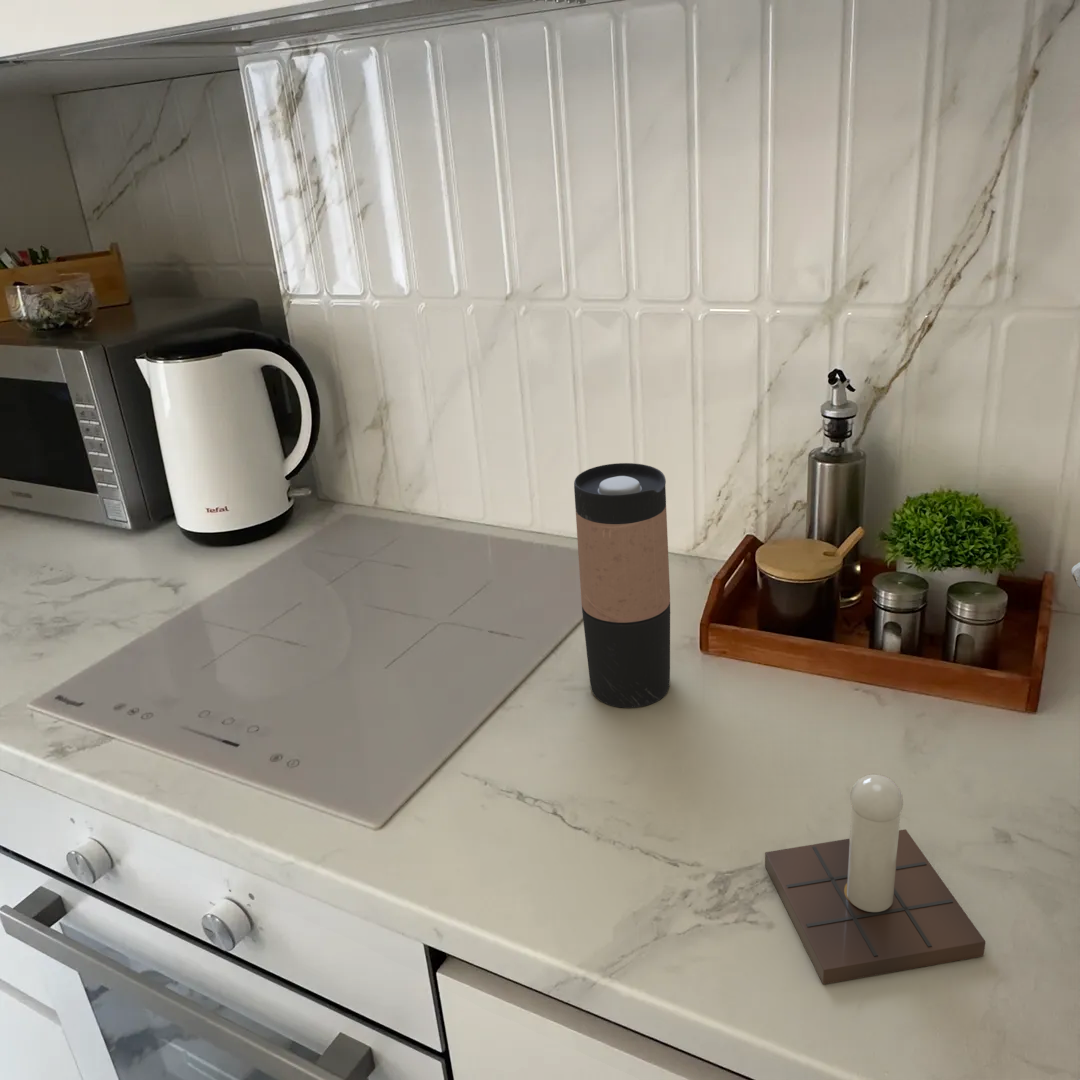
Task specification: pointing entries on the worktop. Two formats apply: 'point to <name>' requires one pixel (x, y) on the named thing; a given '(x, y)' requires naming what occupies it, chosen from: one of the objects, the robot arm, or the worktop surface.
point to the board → (870, 913)
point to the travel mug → (624, 581)
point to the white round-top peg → (873, 842)
